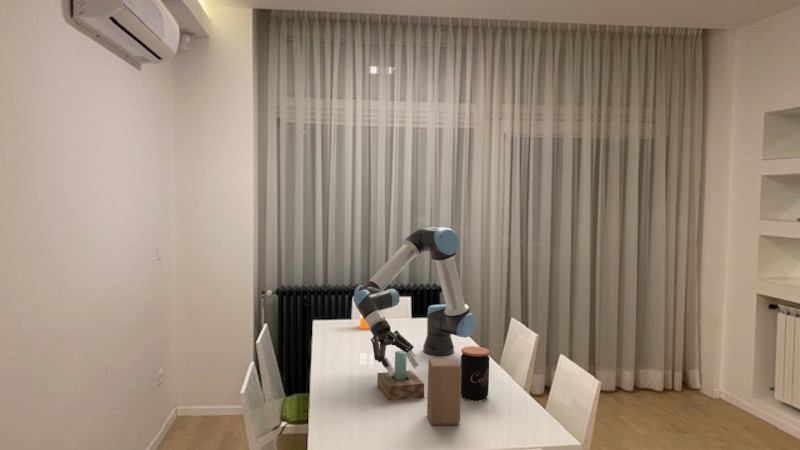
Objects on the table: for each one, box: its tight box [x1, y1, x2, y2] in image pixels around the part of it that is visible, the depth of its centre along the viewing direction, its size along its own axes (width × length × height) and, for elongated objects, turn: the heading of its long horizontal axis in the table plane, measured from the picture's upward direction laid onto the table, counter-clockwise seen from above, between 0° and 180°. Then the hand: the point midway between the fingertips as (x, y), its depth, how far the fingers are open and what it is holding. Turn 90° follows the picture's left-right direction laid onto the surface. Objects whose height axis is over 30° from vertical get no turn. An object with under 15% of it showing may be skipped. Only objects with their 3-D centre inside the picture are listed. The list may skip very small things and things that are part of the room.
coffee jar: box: [460, 346, 490, 402], centre depth 213 cm, size 11×11×18 cm
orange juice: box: [359, 314, 371, 330], centre depth 323 cm, size 8×9×20 cm
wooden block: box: [426, 358, 462, 426], centre depth 189 cm, size 10×10×20 cm
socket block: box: [376, 370, 425, 402], centre depth 216 cm, size 14×16×6 cm
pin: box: [394, 350, 407, 381], centre depth 216 cm, size 4×4×14 cm
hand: (405, 370), depth 214 cm, fingers open, 13 cm apart
